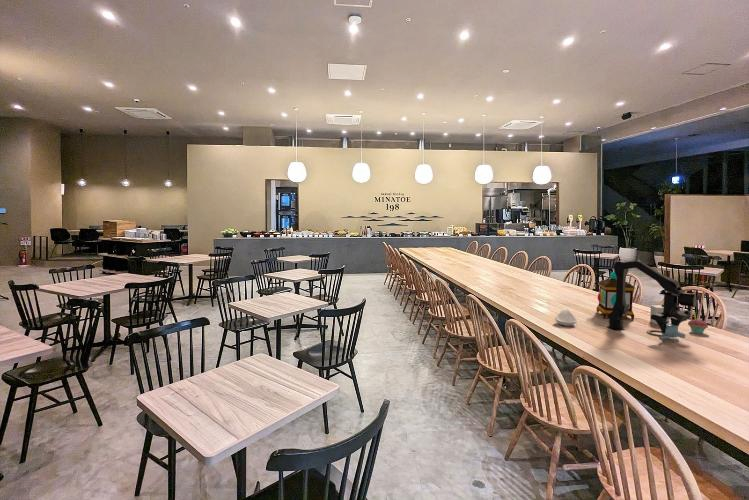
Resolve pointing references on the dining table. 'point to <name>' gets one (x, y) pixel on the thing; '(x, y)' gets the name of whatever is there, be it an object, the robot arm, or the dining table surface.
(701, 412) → the dining table surface
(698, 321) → the cupcake
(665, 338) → the coaster
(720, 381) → the dining table surface
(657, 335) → the holder ring
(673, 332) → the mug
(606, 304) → the decorative lantern
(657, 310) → the small box
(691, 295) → the robot arm
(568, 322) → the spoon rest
